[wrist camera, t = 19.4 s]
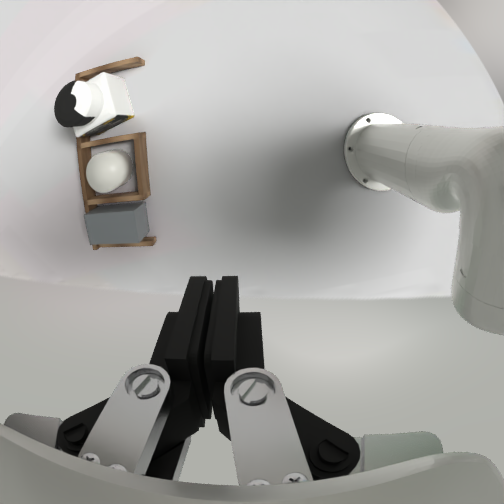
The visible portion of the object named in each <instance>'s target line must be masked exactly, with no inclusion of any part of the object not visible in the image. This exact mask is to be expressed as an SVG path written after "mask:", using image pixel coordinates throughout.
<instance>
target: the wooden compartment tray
mask: <svg viewBox="0 0 504 504" xmlns="http://www.w3.org/2000/svg"><path fill="white" fill-rule="evenodd" d="M144 65H145V61H144V60H143V59H141V58H139V57H134V58H130V59H125V60H121V61H117V62H114V63H110V64H106V65H103V66H99V67H96V68H93V69H90V70H86V71H83V72H80V73H78V74H76V76H75V81H84V82H87V81H89V79H91V78H93V77H95V76H97V75H99V74H100V73H102V72H105V73H113V72H117V71H121V70H125V69H129V68H134V67H139V66H144ZM130 139H134V150H135V163H136V174H137V184H138V191H135V192H124V193H114V194H105V195H96V192H95V190H94V189H93V188H92V187H91V186H90V185H89V183H88V181H87V177H86V168H87V165H88V162H89V161H90V159H91V146H96V145H101V144H106V143H112V142H118V141H124V140H130ZM76 140H77V153H78V163H79V172H80V180H81V187H82V194H83V200H84V206H85V212H86V213H88V212H89V211H91V210H92V209H94V208H95V207H97V206H98V205H97V204H103V203H114V202H125V201H138V200H145V199H146V198H148V197H149V196H150V195H151V194H150V184H149V173H148V161H147V147H146V132H142V133H134V134H128V135H121V136H116V137H110V138H105V139H100V140H95V141H90V136H84V137H76ZM155 242H156V237H144V238H143V239H142V240H141V241H140V243H127V244H96V245H92V246H93V250H97V249H98V248H99V247H130V246H153V245H154V244H155Z"/></svg>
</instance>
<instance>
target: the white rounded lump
mask: <svg viewBox="0 0 504 504" xmlns="http://www.w3.org/2000/svg"><path fill="white" fill-rule="evenodd" d="M132 173H133V162H132V159H131V157H130V156H129V154H128V153H127V152H125V151H123V150H120V149H114V150H110V151H106V152H102V153H98V154H96V155H94V156H93V157H92V158H91V159H90V161H89V162H88V165H87V168H86V177H87V181H88V183H89V185H90V186H91V187H92V188H93V189H94V190H95V191H97V192H99V193H108V192H110V191H112V190H114V189H116V188H117V187H119V186H121V185H123V184H125V183H126V182H127V181H128V180H129V179H130V178H131V176H132Z"/></svg>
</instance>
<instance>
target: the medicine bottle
mask: <svg viewBox="0 0 504 504" xmlns="http://www.w3.org/2000/svg"><path fill="white" fill-rule="evenodd" d="M54 112H55V116H56V119H57V121H58V122H59V123H60V124H61V125H62V126H64V127H73V129H74V132H75V135H76V137H84V136H91V135H99V134H101V133H103V132H105V131H107V130H109V129H111V128H113V127H115V126H117V125H119V124H121V123H123V122H125V121H127V120H129V119H131V118H133V117H134V116H135V114H134V111H133V107H132V104H131V101H130V97H129V94H128V90H127V87H126V83H125V80H124V78H121V77H118V76H115V75H112V74H109V73H105V72H102V73H100V74H99V75H97V76H95V77H93V78H92V79H90V80H89V81H87V82H84V81H72V82H70V83H68V84H67V85H65V86H64V87H63V88H62V90H61V91H60V92H59V94H58V96H57V98H56V101H55V106H54Z"/></svg>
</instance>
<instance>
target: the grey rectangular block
mask: <svg viewBox="0 0 504 504" xmlns="http://www.w3.org/2000/svg"><path fill="white" fill-rule="evenodd" d="M84 217H85V223H86V228H87V232H88V237H89V241H90V245H96V244H127V243H140V241H141V240H142V239H143V238H144V237H145V236H146V234H147V233H148V232H149V225H148V218H147V210H146V202H134V203H122V204H110V205H100V206H97V207H95V208H94V209H92V210H91V211H89V212H88V213H86V214H85V215H84Z"/></svg>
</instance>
